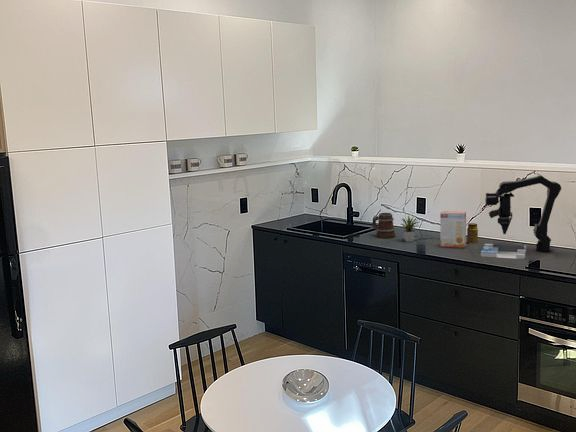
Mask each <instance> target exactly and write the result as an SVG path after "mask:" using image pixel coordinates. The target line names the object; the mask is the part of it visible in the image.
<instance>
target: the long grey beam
mask: <svg viewBox="0 0 576 432" xmlns="http://www.w3.org/2000/svg"><path fill="white" fill-rule="evenodd" d="M492 244H493V247H498V251H505V252H517V250H518V249H524V246H525V243H516V242H513V243H512V242H493V243H492Z"/></svg>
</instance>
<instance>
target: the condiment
mask: <svg viewBox="0 0 576 432" xmlns="http://www.w3.org/2000/svg"><path fill="white" fill-rule="evenodd" d="M478 236H479V229H478V224H477V223H474V222H471V223H468V224H467V227H466V246H468V245H469V243H470V244H477V243H478V240H479V239H478Z"/></svg>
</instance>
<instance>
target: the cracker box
mask: <svg viewBox="0 0 576 432" xmlns="http://www.w3.org/2000/svg"><path fill="white" fill-rule="evenodd" d="M439 214H440V218H439V219H440V221H439V222H440V227H439V228H440V229H439V231H440V232H439V235H440V237H439V238H440V240H439V241H440V245H439V246H440V248H457V249H458V248H460V249H465V248H466V247H467V245H466V242H467V211H457V210H456V211H455V210H454V211H453V210H442V211H441V212H440V213H439Z"/></svg>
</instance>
